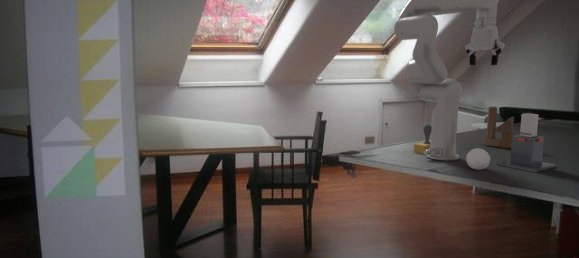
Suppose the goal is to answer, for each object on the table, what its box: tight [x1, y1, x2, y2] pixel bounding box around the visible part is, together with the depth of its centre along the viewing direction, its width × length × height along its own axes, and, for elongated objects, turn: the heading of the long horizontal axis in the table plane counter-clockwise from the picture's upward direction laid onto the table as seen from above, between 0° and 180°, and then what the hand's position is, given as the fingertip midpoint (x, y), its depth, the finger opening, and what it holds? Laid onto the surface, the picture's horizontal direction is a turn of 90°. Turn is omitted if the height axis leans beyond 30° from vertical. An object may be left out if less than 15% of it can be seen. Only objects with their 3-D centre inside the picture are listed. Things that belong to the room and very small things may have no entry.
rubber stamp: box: [413, 124, 432, 155], centre depth 179 cm, size 10×6×12 cm, turn 123°
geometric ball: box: [465, 147, 491, 171], centre depth 149 cm, size 8×8×8 cm
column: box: [519, 112, 540, 138], centre depth 153 cm, size 5×4×18 cm
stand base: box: [496, 134, 556, 173], centre depth 154 cm, size 14×14×11 cm
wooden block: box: [483, 105, 515, 149], centre depth 189 cm, size 4×11×18 cm, turn 43°
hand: (483, 65), depth 176 cm, fingers open, 9 cm apart
